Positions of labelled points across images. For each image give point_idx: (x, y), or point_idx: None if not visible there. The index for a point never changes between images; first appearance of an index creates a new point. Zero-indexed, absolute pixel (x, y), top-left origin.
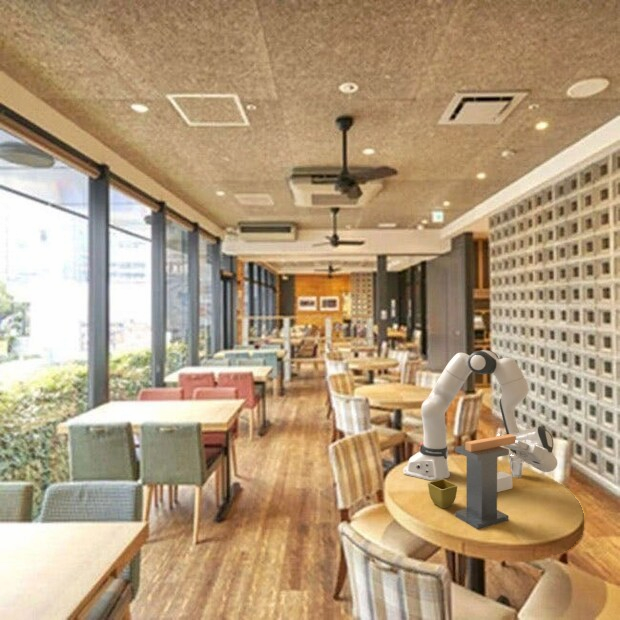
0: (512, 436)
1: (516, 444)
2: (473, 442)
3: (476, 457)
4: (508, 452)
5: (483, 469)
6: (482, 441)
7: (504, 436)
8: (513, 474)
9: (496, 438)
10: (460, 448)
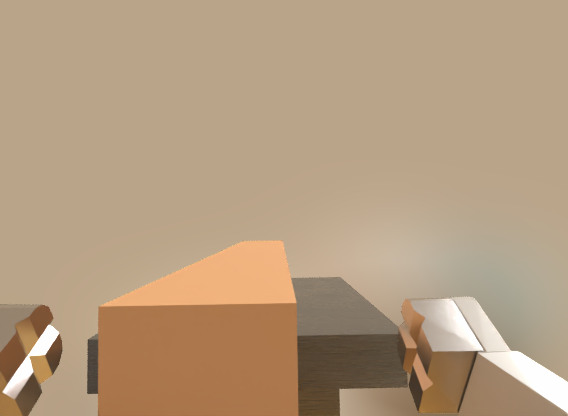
0: (145, 286)
1: (31, 389)
2: (256, 242)
3: None
4: (89, 366)
5: None
6: (242, 245)
7: (235, 269)
8: None
9: (235, 255)
10: (306, 278)
